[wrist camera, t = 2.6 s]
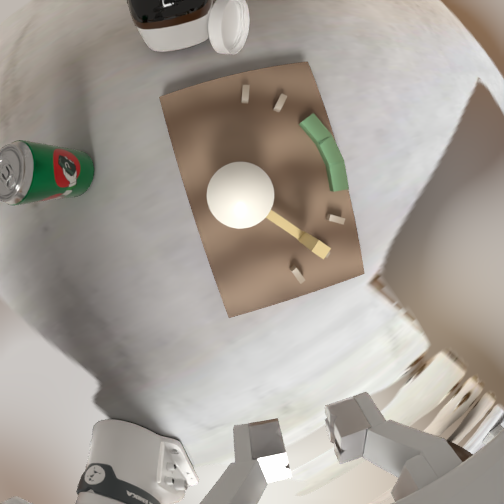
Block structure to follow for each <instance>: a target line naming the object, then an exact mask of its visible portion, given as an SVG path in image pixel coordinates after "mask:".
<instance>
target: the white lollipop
mask: <svg viewBox="0 0 504 504" xmlns="http://www.w3.org/2000/svg"><path fill="white" fill-rule="evenodd" d="M273 202H274V188H273V184H272V182H271V180H270V178H269V176H268V175H267V174H266V173H265V172H264V171H263V170H262V169H261V168H260V167H258V166H256V165H254V164H252V163H248V162H233V163H230V164H227V165H225V166H223V167H222V168H220V169H219V170H218V171H217V172H216V173H215V174H214V175H213V177H212V178H211V180H210V182H209V184H208V188H207V203H208V206H209V209H210V211H211V212H212V214H213V215H214V217H215V218H216V219H217V220H218V221H220V222H221V223H222V224H224V225H226V226H229V227H232V228H237V229H243V228H249V227H252V226H255V225H257V224H258V223H260V222H261V221H262V220H264V219H265V218H267V219H269V220H270V221H272V222H273V223H275V224H276V225H278V226H279V227H281V228H282V229H284V230H285V231H287V232H288V233H290V234H291V235H292V236H294V237H295V238H297V239H298V241H299V242H300V243H302V244H303V245H304V246H306V247H307V248H308V249H309V250H311V251H312V252H313V253H315V254H316V255H318V256H319V257H321V258H322V259H323V260H324V258H325V257H326V255H327V254H328V252H329V251H330V249H331V248H329V247H328V246H327V245H325V244H324V243H323V242H321V241H320V240H318V239H317V238H315V237H313V236H312V235H310V234H308V233H306V232H305V231H301V230H300V229H299V228H297V227H296V226H294V225H293V224H291V223H290V222H288V221H287V220H286V219H284V218H283V217H281V216H280V215H278V214H277V213H275V212H274V211H272V210H271V208H272V206H273Z"/></svg>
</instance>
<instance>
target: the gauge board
mask: <svg viewBox="0 0 504 504" xmlns="http://www.w3.org/2000/svg"><path fill="white" fill-rule="evenodd" d="M159 98H160V102H161V106H162V109H163V113H164V117H165V121H166V124H167V128H168V132H169V135H170V139H171V142H172V146H173V150H174V153H175V156H176V160H177V163H178V167H179V170H180V173H181V177H182V180H183V183H184V187H185V190H186V193H187V196H188V200H189V203H190V206H191V209H192V212H193V215H194V219H195V222H196V225H197V228H198V231H199V234H200V237H201V240H202V243H203V246H204V249H205V252H206V255H207V258H208V261H209V264H210V267H211V269H212V272H213V275H214V278H215V281H216V284H217V287H218V289H219V292H220V295H221V298H222V300H223V303H224V306H225V309H226V311H227V314H228V317H229V318H231V317H234V316H238V315H241V314H245V313H248V312H251V311H255V310H258V309H261V308H265V307H268V306H271V305H274V304H277V303H281V302H284V301H287V300H290V299H293V298H296V297H299V296H302V295H305V294H308V293H311V292H314V291H317V290H320V289H323V288H326V287H329V286H332V285H335V284H337V283H340V282H343V281H346V280H349V279H351V278H354V277H357V276H360V275H362V274H364V268H363V262H362V256H361V250H360V244H359V239H358V233H357V228H356V223H355V218H354V213H353V209H352V204H351V200H350V195H349V191H348V189H349V187H348V181H347V175H346V169H345V164H344V160H343V158H342V155H341V153H340V151H339V149H338V147H337V144H336V142H335V139H334V135H333V132H332V129H331V125H330V122H329V119H328V116H327V113H326V110H325V107H324V104H323V101H322V98H321V95H320V93H319V90H318V87H317V84H316V82H315V79H314V76H313V74H312V71H311V69H310V66H309V64H308V62H300V63H292V64H285V65H279V66H273V67H267V68H262V69H257V70H252V71H247V72H242V73H238V74H234V75H229V76H225V77H221V78H218V79H214V80H210V81H207V82H203V83H200V84H197V85H193V86H190V87H187V88H184V89H181V90H178V91H175V92H172V93H169V94H166V95H164V96H161V97H159ZM233 162H248V163H252V164H254V165H256V166H258V167H260V168H261V169H262V170H263V171H264V172H265V173H266V174H267V175H268V176H269V178H270V180H271V182H272V184H273V188H274V202H273V206H272V208H271V210H272V211H274V212H275V213H277V214H278V215H280V216H281V217H283V218H284V219H286V220H287V221H288V222H290V223H291V224H293V225H294V226H296V227H297V228H299V229H300V230H301V231H305V232H306V233H308V234H310V235H312V236H313V237H315V238H317V239H318V240H320V241H321V242H323V243H324V244H325V245H327V246H328V247H329V248H331V249H330V251H329V252H328V254H327V255H326V257H325V258H324V260H323V259H322V258H321V257H319V256H318V255H316V254H315V253H313V252H312V251H311V250H309V249H308V248H307V247H306V246H304V245H303V244H302V243H300V242H299V241H298V239H297V238H295V237H294V236H292V235H291V234H290V233H288V232H287V231H285V230H284V229H282V228H281V227H279V226H278V225H276V224H275V223H273V222H272V221H270V220H269V219H267V218H265V219H264V220H262V221H261V222H260V223H258V224H257V225H255V226H252V227H249V228H243V229H237V228H232V227H229V226H226V225H224V224H222V223H221V222H220V221H218V220H217V219H216V218H215V217H214V215H213V214H212V212H211V211H210V209H209V206H208V203H207V188H208V184H209V182H210V180H211V178H212V177H213V175H214V174H215V173H216V172H217V171H218V170H219V169H220V168H222V167H223V166H225V165H227V164H230V163H233Z"/></svg>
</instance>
